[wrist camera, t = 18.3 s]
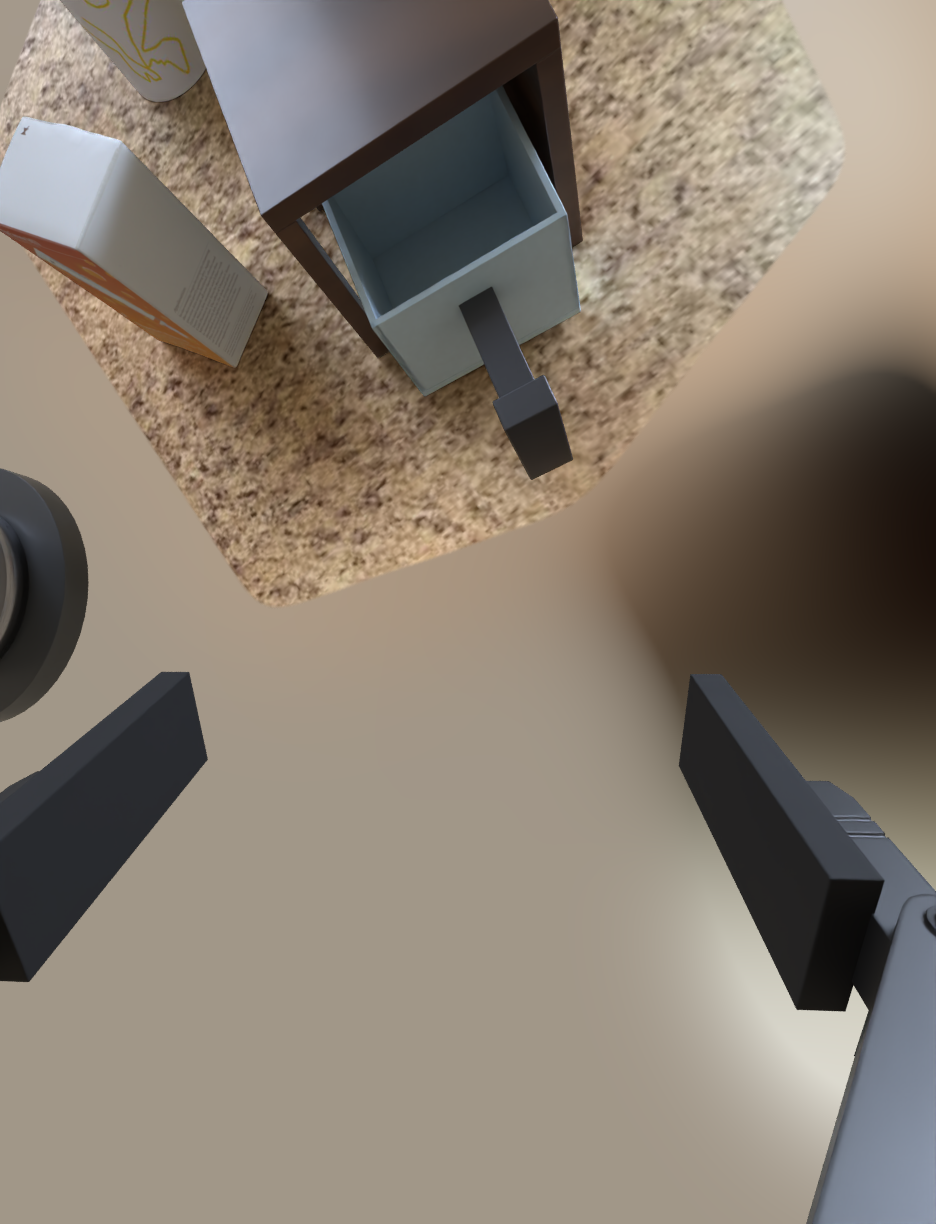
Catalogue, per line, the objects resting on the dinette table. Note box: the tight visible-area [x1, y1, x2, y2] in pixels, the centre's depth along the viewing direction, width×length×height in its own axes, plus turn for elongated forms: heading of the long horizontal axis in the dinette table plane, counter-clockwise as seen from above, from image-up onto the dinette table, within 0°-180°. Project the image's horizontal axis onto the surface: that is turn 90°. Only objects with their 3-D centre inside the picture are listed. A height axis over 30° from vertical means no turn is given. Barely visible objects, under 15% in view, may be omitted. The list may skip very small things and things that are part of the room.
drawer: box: [322, 86, 581, 480], centre depth 32 cm, size 20×11×10 cm, turn 22°
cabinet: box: [182, 0, 583, 358], centre depth 33 cm, size 14×15×13 cm
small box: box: [0, 116, 268, 368], centre depth 37 cm, size 8×6×13 cm
